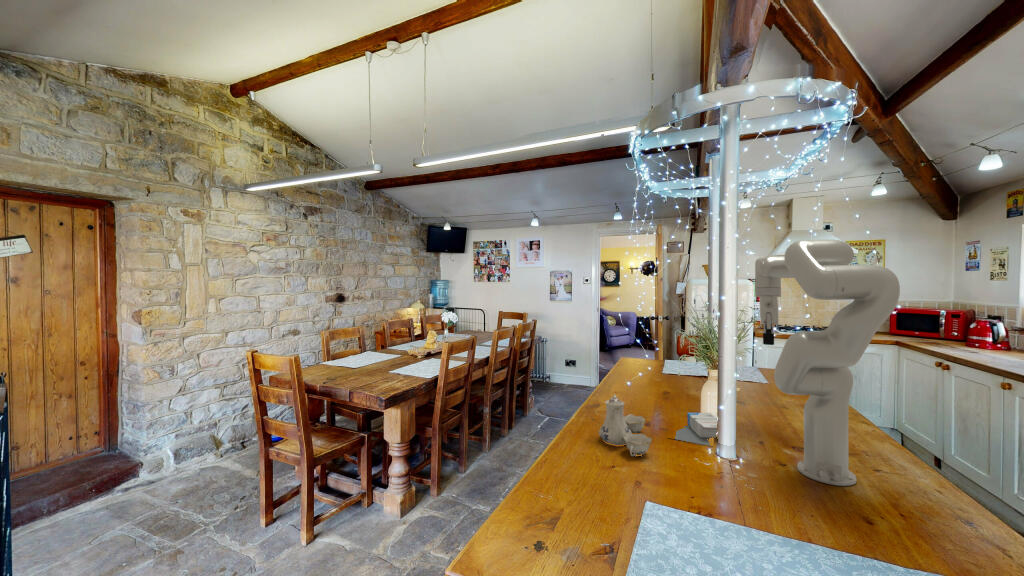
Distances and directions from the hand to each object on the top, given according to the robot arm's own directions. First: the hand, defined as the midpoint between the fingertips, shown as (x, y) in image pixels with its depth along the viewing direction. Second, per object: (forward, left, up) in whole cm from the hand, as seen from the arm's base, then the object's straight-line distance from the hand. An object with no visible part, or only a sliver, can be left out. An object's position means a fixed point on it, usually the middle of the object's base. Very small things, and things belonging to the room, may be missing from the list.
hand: (768, 344), depth 136 cm
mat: (-15, +23, -31) cm, 42 cm away
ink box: (-6, +22, -28) cm, 36 cm away
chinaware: (-34, +42, -32) cm, 62 cm away
